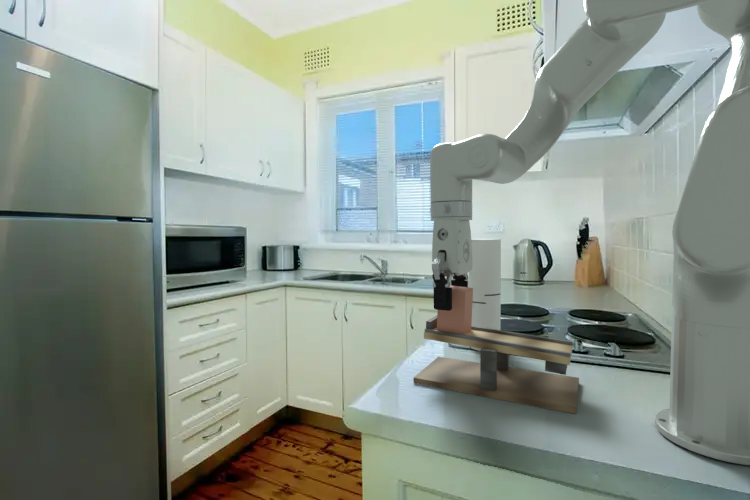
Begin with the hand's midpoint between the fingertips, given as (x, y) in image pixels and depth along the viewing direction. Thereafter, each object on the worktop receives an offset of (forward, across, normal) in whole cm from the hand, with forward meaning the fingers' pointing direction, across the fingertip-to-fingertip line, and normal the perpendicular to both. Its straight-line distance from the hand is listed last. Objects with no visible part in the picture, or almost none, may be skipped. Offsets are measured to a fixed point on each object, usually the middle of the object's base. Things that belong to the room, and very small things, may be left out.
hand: (451, 304), depth 74 cm
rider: (+5, 0, 0) cm, 5 cm away
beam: (+8, 0, -8) cm, 12 cm away
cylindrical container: (+14, +21, -1) cm, 25 cm away
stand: (+13, 0, -8) cm, 16 cm away
